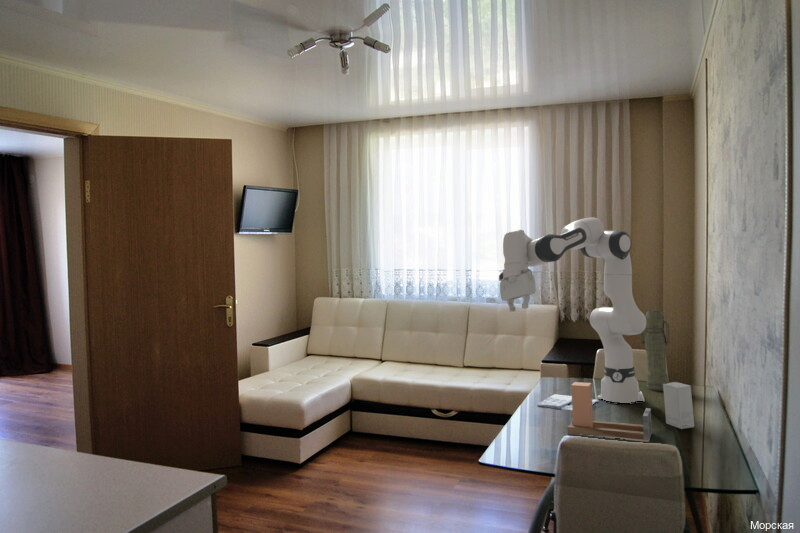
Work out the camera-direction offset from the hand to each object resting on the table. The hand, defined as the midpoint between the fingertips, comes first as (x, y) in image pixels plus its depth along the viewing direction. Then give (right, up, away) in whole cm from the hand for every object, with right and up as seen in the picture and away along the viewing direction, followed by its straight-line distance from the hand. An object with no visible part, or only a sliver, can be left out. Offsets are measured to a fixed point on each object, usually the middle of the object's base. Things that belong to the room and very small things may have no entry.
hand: (518, 309), depth 218 cm
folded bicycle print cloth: (+27, -42, +31) cm, 59 cm away
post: (+22, -43, -6) cm, 48 cm away
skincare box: (+56, -41, -5) cm, 70 cm away
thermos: (+72, -39, +49) cm, 95 cm away
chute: (+29, -42, -10) cm, 52 cm away
